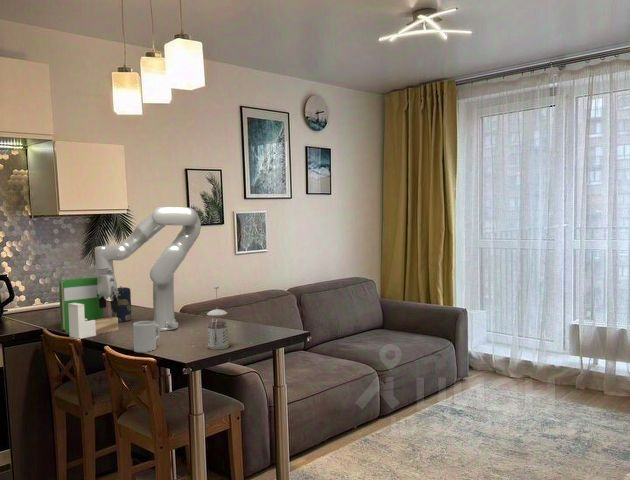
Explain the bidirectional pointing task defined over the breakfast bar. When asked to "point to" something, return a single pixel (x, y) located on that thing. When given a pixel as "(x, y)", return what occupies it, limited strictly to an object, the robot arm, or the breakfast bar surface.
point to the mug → (145, 336)
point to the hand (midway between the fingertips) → (108, 308)
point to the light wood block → (106, 325)
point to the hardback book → (79, 299)
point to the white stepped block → (80, 322)
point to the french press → (217, 328)
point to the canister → (123, 305)
